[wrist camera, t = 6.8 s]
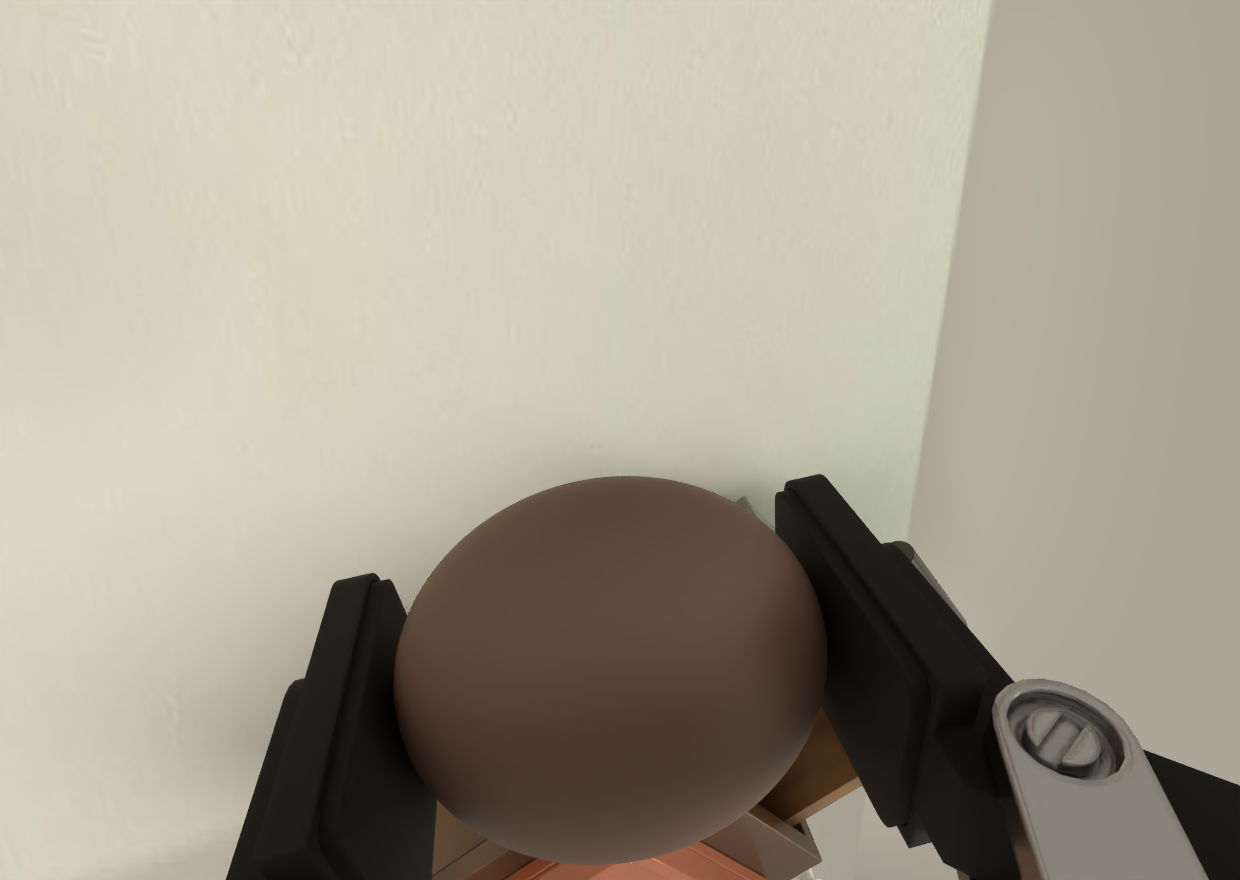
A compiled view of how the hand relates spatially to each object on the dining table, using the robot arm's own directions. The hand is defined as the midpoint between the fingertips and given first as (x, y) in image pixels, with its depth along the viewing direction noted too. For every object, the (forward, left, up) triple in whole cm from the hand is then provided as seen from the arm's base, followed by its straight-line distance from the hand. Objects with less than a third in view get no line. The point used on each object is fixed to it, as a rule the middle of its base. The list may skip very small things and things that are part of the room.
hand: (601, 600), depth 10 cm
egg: (0, 0, -1) cm, 1 cm away
